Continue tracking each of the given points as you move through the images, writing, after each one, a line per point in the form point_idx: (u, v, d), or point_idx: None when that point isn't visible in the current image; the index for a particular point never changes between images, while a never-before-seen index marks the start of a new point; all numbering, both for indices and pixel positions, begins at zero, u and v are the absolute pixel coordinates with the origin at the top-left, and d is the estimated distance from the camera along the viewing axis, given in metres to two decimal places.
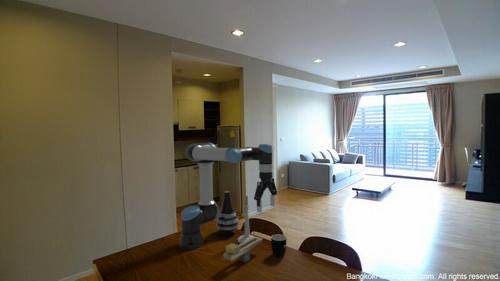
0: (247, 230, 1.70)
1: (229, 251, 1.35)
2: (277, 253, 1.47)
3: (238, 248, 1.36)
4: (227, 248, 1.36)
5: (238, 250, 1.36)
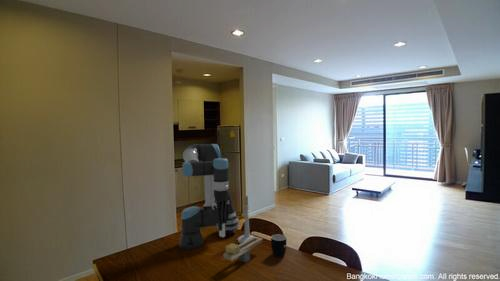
0: (247, 230, 1.70)
1: (229, 251, 1.35)
2: (277, 253, 1.47)
3: (238, 248, 1.36)
4: (227, 248, 1.36)
5: (238, 250, 1.36)
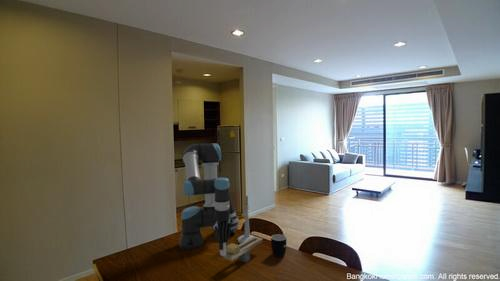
0: (247, 230, 1.70)
1: (229, 251, 1.35)
2: (277, 253, 1.47)
3: (238, 248, 1.36)
4: (227, 248, 1.36)
5: (238, 250, 1.36)
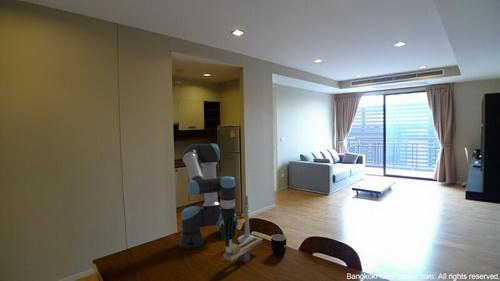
0: (247, 230, 1.70)
1: None
2: (277, 253, 1.47)
3: (238, 248, 1.36)
4: None
5: (238, 250, 1.36)
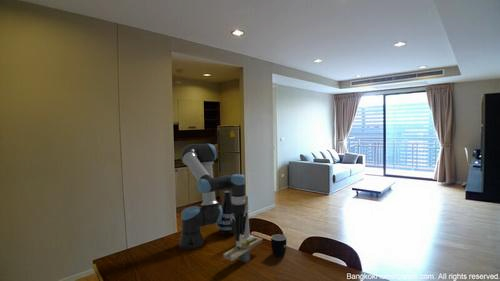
0: (247, 230, 1.70)
1: None
2: (277, 253, 1.47)
3: (248, 242, 1.43)
4: None
5: (248, 244, 1.43)
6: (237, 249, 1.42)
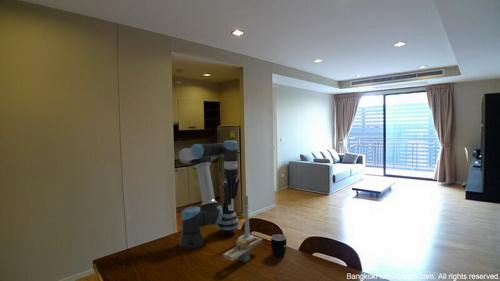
0: (247, 230, 1.70)
1: (240, 245, 1.42)
2: (277, 253, 1.47)
3: (248, 242, 1.43)
4: (238, 242, 1.43)
5: (248, 244, 1.43)
6: (237, 249, 1.42)
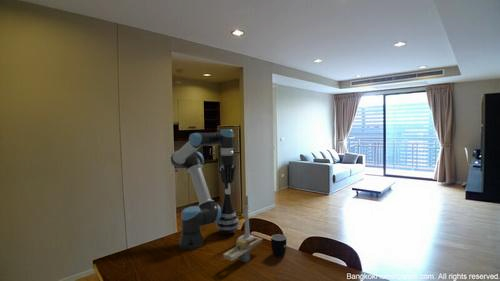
0: (247, 230, 1.70)
1: (240, 245, 1.42)
2: (277, 253, 1.47)
3: (248, 242, 1.43)
4: (238, 242, 1.43)
5: (248, 244, 1.43)
6: (237, 249, 1.42)
